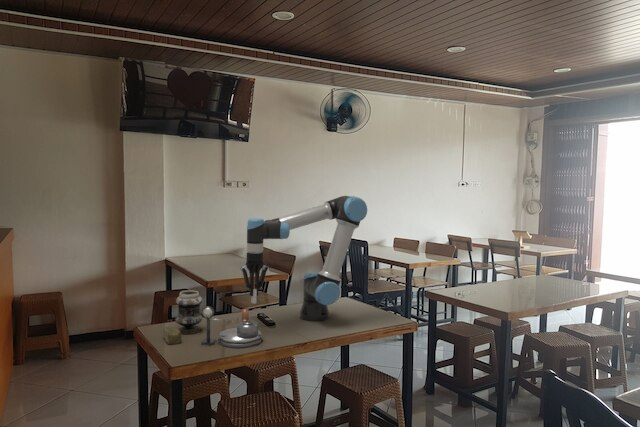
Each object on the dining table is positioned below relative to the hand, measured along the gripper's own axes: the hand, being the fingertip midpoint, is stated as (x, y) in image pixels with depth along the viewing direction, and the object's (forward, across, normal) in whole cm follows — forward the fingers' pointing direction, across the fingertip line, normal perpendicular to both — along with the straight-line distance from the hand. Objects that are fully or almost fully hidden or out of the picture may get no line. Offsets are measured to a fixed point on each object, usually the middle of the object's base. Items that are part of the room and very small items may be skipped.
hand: (253, 302), depth 225 cm
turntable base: (+13, +10, +10) cm, 20 cm away
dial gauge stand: (+13, +22, +8) cm, 27 cm away
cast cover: (+10, +8, +14) cm, 19 cm away
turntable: (+11, +9, +9) cm, 17 cm away
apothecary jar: (+14, +26, -13) cm, 33 cm away
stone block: (+14, +36, -3) cm, 39 cm away
